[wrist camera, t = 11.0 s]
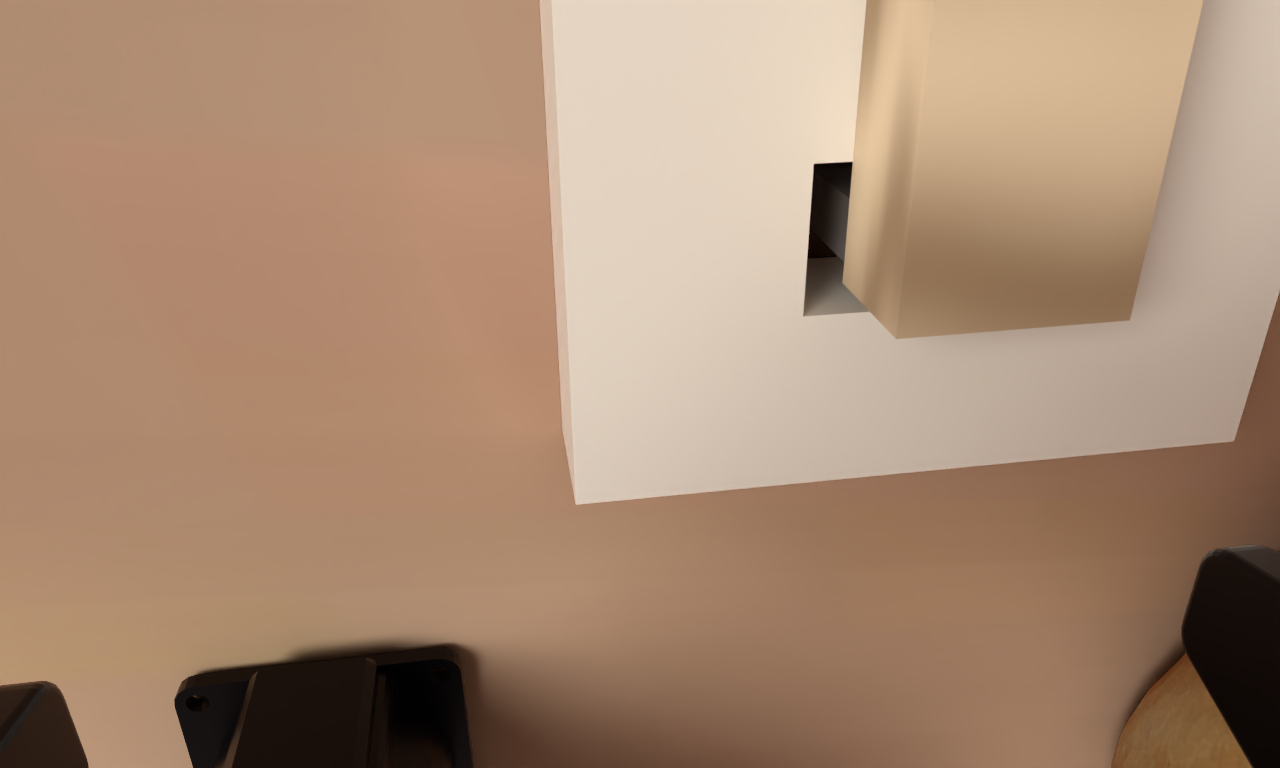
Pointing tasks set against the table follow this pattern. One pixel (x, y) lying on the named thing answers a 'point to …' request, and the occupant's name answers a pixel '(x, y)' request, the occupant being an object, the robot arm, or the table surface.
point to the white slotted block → (813, 288)
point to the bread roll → (1178, 727)
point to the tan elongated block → (1005, 160)
